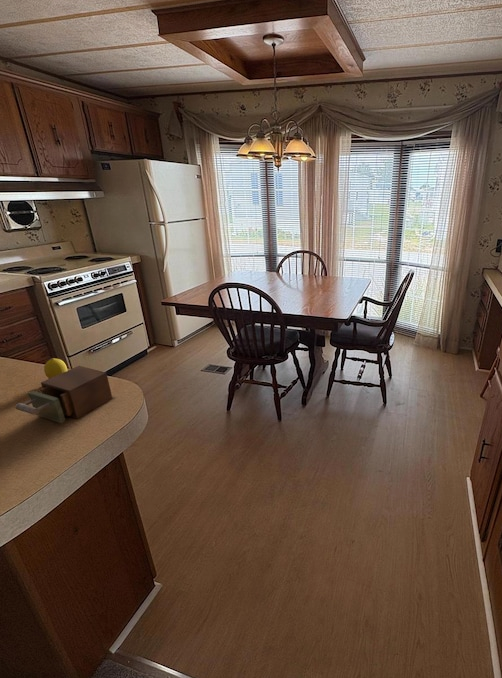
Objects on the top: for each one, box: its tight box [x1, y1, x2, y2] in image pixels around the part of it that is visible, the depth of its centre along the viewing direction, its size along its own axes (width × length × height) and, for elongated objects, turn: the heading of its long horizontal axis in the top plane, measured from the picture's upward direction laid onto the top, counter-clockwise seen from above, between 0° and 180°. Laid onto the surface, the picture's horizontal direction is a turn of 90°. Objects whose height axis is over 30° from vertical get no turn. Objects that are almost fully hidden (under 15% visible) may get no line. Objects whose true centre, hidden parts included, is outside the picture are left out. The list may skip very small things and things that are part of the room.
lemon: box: [43, 357, 68, 379], centre depth 106 cm, size 6×6×8 cm
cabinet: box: [40, 365, 113, 419], centre depth 95 cm, size 11×11×9 cm
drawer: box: [15, 387, 74, 424], centre depth 89 cm, size 14×9×7 cm
